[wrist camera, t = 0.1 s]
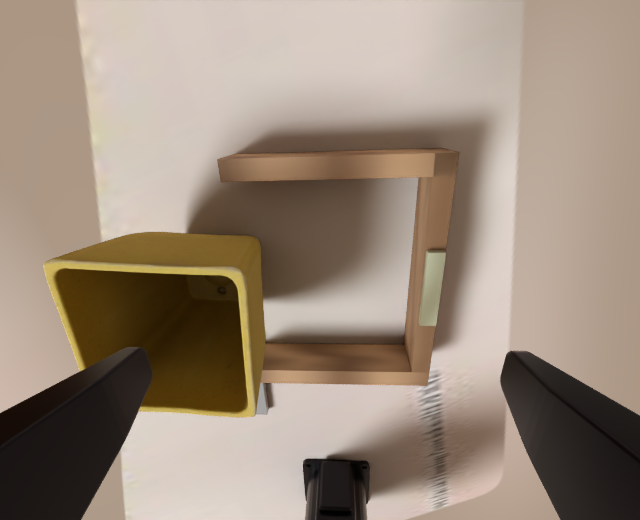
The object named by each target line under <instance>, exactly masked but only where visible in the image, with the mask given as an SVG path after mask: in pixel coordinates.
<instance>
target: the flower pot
mask: <svg viewBox="0 0 640 520" xmlns="http://www.w3.org/2000/svg"><path fill="white" fill-rule="evenodd" d="M43 268H44V272H45V275H46V279H47V282H48V285H49V288H50V292H51V294H52V297H53V300H54V302H55V304H56V307H57V310H58V312H59V314H60V317H61V320H62V323H63V326H64V328H65V331H66V334H67V336H68V339H69V342H70V344H71V347H72V350H73V353H74V356H75V359H76V361H77V364H78V368H79V371H82V370H84V369H86V368H88V367H89V366H91V365H93V364H95V363H97V362H99V361H101V360H103V359H105V358H107V357H109V356H111V355H112V354H114V353H116V352H118V351H120V350H122V349H124V348H126V347H142V348H144V349H145V350H146V352H147V355H148V358H149V362H150V365H151V368H152V372H153V378H152V381H151V384H150V386H149V388H148V391H147V393H146V395H145V397H144V400H143V402H142V404H141V406H140V409H139V411H143V412H172V413H188V414H198V415H209V416H225V417H253V416H255V414H256V411H257V403H258V396H259V389H260V382H261V375H262V368H263V361H264V352H265V326H264V311H263V294H262V272H261V247H260V243H259V241H258V239H257V238H255V237H253V236H240V235H208V234H185V233H170V232H144V233H135V234H129V235H125V236H121V237H118V238H115V239H111V240H108V241H105V242H102V243H99V244H96V245H93V246H90V247H87V248H83V249H81V250H77V251H74V252H71V253H68V254H65V255H62V256H60V257H56V258H53V259H50V260H48V261H46V262H45V263H44V265H43ZM219 287H223V288H225V290H226V291H225V293H221V292H219V290H218V288H219Z"/></svg>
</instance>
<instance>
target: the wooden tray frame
mask: <svg viewBox="0 0 640 520" xmlns="http://www.w3.org/2000/svg"><path fill="white" fill-rule="evenodd" d="M458 157H459V152H456V151H452V150H448V149H444V148H426V149H393V150H360V151H327V152H294V153H261V154H234V155H230V156H227V157H224V158H220V159H217V161H218V167H219V174H220V180H221V182H243V181H284V180H325V179H366V178H407V177H419V180H418V191H417V202H416V213H415V225H414V236H413V247H412V258H411V269H410V280H409V291H408V302H407V313H406V324H405V335H404V345H386V344H274V343H265V352H264V361H263V368H262V375H261V382H260V383H304V384H363V385H421V386H427V385H428V378H429V370H430V363H431V356H432V348H433V341H434V334H435V326H436V324H437V317H438V309H439V302H440V295H441V287H442V280H443V273H444V266H445V258H446V245H447V238H448V231H449V223H450V216H451V209H452V201H453V194H454V187H455V179H456V172H457V165H458Z"/></svg>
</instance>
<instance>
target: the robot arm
mask: <svg viewBox="0 0 640 520" xmlns="http://www.w3.org/2000/svg"><path fill="white" fill-rule="evenodd" d="M152 378H153V372H152V368H151V365H150V362H149V358H148V355H147V352H146V350H145V349H144V348H142V347H126V348H124V349H122V350H120V351H118V352H116V353H114V354H112V355H111V356H109V357H107V358H105V359H103V360H101V361H99V362H97V363H95V364H93V365H91V366H89V367H88V368H86V369H84V370H82V371H80V372H78V373H76V374H74V375H72V376H70V377H69V378H67V379H65V380H63V381H61V382H59V383H57V384H55V385H53V386H51V387H49V388H47V389H45V390H44V391H42V392H40V393H38V394H36V395H34V396H32V397H30V398H28V399H26V400H24V401H23V402H21V403H19V404H17V405H15V406H13V407H11V408H9V409H8V410H5V411H3V412H2V413H0V520H81V519H82V517H83V515H84V514H85V512H86V510H87V508H88V506H89V505H90V503H91V501H92V499H93V498H94V496H95V494H96V492H97V490H98V489H99V487H100V485H101V483H102V481H103V480H104V478H105V476H106V474H107V472H108V471H109V468H110V467H111V465H112V463H113V462H114V460H115V458H116V456H117V454H118V453H119V451H120V449H121V447H122V445H123V443H124V441H125V439H126V437H127V435H128V433H129V431H130V429H131V427H132V424H133V422H134V420H135V418H136V415H137V413H138V411H139V409H140V406H141V404H142V402H143V400H144V397H145V395H146V393H147V391H148V388H149V386H150V384H151V381H152ZM500 381H501V387H502V390H503V392H504V395H505V398H506V400H507V403H508V405H509V408H510V410H511V413H512V416H513V418H514V421H515V423H516V426H517V428H518V431H519V434H520V436H521V439H522V442H523V444H524V446H525V449H526V451H527V453H528V455H529V457H530V459H531V462H532V464H533V466H534V468H535V470H536V472H537V474H538V476H539V478H540V480H541V482H542V484H543V486H544V488H545V490H546V491H547V493H548V496H549V498H550V500H551V502H552V504H553V506H554V508H555V510H556V512H557V514H558V516H559V518H560V519H561V520H640V416H639V415H638V414H636V413H634V412H633V411H631V410H629V409H627V408H626V407H624V406H622V405H620V404H619V403H617V402H615V401H614V400H611V399H610V398H608V397H607V396H605V395H603V394H601V393H600V392H598V391H596V390H594V389H593V388H591V387H589V386H587V385H585V384H584V383H582V382H580V381H579V380H577V379H575V378H573V377H572V376H570V375H568V374H566V373H565V372H563V371H561V370H560V369H558V368H556V367H554V366H553V365H551V364H549V363H547V362H546V361H544V360H542V359H540V358H539V357H537V356H535V355H533V354H532V353H530V352H527V351H510V352H508V353H507V354H506V357H505V361H504V365H503V369H502V373H501V378H500ZM369 471H370V466H369V463H368V462H367V461H352V460H321V459H306V460H304V461H303V472H304V484H305V496H306V501H307V504H306V516H305V520H367V509H366V504H368V492H369Z"/></svg>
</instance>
